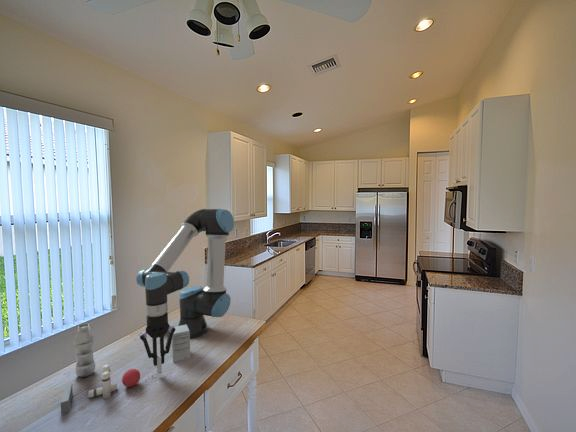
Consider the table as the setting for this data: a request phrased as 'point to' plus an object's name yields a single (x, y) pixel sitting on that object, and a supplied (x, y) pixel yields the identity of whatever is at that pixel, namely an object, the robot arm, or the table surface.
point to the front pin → (99, 390)
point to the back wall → (66, 399)
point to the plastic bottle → (84, 351)
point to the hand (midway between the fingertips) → (159, 372)
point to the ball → (131, 378)
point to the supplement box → (180, 343)
